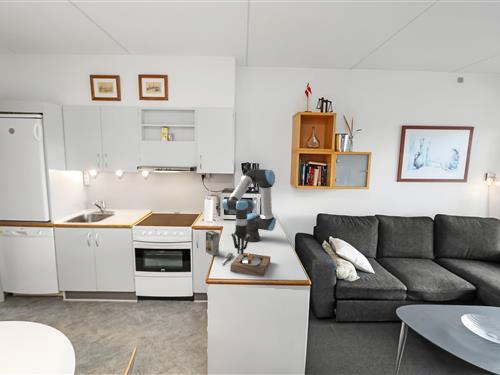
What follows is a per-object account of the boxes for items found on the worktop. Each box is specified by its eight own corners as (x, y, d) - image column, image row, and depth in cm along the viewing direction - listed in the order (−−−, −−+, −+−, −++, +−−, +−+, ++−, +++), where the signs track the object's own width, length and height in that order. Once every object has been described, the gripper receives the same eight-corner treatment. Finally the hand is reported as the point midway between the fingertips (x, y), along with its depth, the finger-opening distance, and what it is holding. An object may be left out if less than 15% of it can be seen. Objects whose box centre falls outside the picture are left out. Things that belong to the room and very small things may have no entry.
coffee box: (205, 252, 196) (205, 231, 193) (212, 250, 200) (212, 230, 198) (212, 255, 189) (212, 234, 187) (219, 253, 194) (219, 233, 191)
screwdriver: (229, 255, 191) (229, 252, 191) (232, 256, 190) (232, 253, 190) (220, 265, 175) (220, 261, 174) (224, 265, 174) (224, 262, 174)
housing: (240, 257, 188) (240, 251, 187) (270, 262, 182) (270, 256, 181) (230, 271, 167) (230, 264, 166) (263, 276, 161) (264, 269, 160)
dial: (245, 258, 182) (245, 247, 180) (262, 260, 178) (262, 249, 177) (239, 265, 170) (239, 254, 168) (258, 268, 166) (258, 257, 165)
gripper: (230, 224, 165) (229, 259, 169) (249, 227, 162) (248, 262, 165) (233, 221, 172) (232, 255, 176) (252, 223, 169) (251, 257, 172)
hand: (240, 258), depth 171 cm, fingers closed
